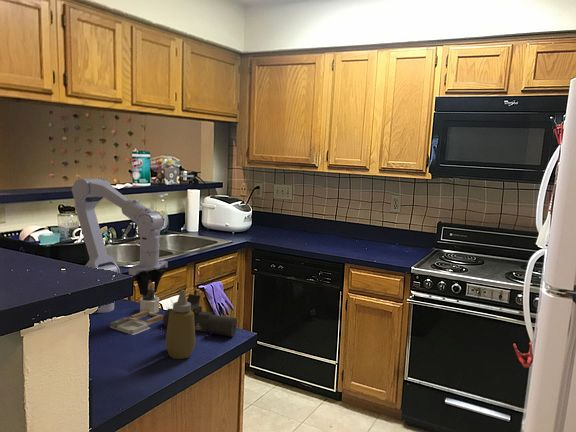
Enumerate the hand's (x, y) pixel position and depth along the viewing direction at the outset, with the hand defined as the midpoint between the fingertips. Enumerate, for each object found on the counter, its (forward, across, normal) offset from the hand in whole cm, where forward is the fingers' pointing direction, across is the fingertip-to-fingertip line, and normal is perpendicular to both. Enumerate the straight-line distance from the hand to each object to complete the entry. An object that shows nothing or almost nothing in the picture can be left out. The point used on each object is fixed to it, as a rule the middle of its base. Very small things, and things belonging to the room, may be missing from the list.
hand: (148, 293), depth 148 cm
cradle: (+10, -8, -2) cm, 13 cm away
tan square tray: (+10, 0, 0) cm, 10 cm away
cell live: (+2, 0, 0) cm, 2 cm away
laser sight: (+10, +4, -17) cm, 20 cm away
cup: (+10, +6, +6) cm, 13 cm away
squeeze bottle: (+10, -12, -24) cm, 29 cm away
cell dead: (+9, +6, +6) cm, 12 cm away
